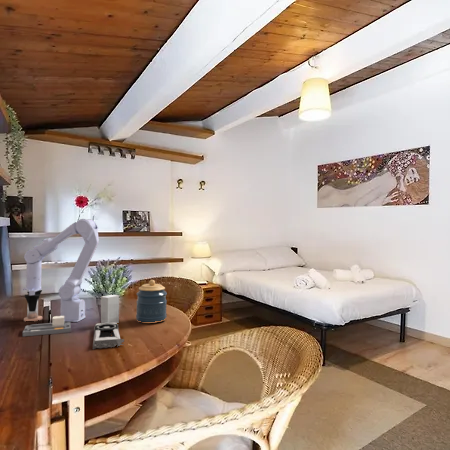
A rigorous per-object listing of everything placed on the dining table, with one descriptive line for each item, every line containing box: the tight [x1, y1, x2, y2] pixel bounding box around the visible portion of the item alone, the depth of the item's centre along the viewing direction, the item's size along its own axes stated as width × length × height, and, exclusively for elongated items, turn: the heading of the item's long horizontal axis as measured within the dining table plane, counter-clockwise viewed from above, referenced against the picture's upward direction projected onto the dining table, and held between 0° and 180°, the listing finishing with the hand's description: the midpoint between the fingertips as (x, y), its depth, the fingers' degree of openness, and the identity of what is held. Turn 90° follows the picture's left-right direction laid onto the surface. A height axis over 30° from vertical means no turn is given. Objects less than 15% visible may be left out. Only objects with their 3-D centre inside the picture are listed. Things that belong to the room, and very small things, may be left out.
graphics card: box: [92, 322, 125, 350], centre depth 132 cm, size 10×3×25 cm
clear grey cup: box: [26, 300, 39, 319], centre depth 154 cm, size 4×4×8 cm
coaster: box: [23, 315, 43, 322], centre depth 155 cm, size 7×7×1 cm
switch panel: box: [22, 321, 72, 337], centre depth 139 cm, size 16×9×2 cm, turn 113°
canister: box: [135, 279, 168, 322], centre depth 157 cm, size 13×13×18 cm
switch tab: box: [51, 315, 65, 326], centre depth 140 cm, size 4×4×3 cm
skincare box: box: [100, 294, 120, 324], centre depth 148 cm, size 6×4×12 cm
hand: (33, 309), depth 155 cm, fingers open, 7 cm apart
